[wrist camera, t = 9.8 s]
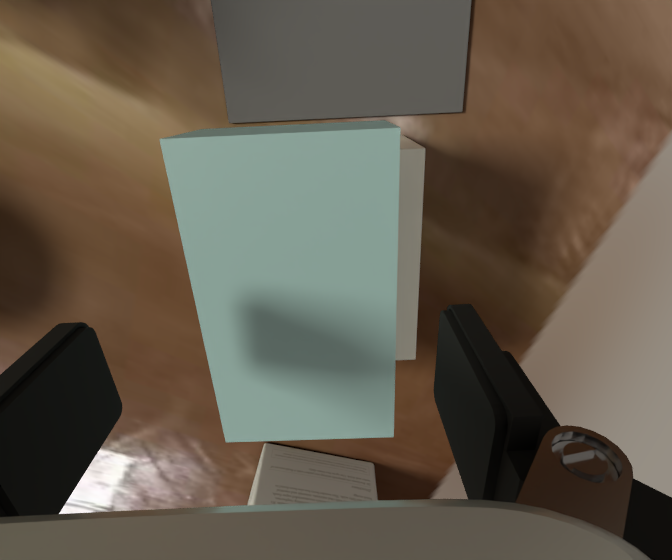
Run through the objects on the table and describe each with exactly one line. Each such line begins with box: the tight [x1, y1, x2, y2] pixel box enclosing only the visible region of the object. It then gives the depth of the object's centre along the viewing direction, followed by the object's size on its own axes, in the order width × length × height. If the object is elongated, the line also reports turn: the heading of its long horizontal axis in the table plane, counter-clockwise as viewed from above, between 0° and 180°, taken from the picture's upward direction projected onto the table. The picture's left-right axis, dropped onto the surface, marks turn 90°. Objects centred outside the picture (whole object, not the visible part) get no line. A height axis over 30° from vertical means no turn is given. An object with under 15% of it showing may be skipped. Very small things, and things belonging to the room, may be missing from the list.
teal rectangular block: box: [160, 120, 400, 442], centre depth 16 cm, size 12×7×4 cm, turn 3°
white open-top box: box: [395, 135, 425, 360], centre depth 20 cm, size 10×10×6 cm
